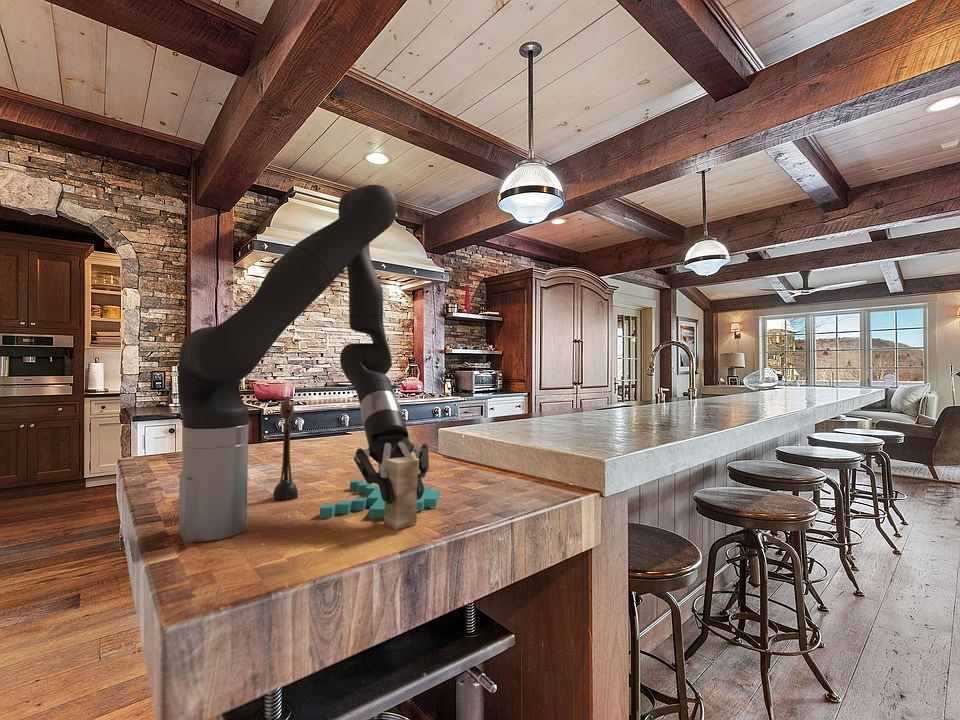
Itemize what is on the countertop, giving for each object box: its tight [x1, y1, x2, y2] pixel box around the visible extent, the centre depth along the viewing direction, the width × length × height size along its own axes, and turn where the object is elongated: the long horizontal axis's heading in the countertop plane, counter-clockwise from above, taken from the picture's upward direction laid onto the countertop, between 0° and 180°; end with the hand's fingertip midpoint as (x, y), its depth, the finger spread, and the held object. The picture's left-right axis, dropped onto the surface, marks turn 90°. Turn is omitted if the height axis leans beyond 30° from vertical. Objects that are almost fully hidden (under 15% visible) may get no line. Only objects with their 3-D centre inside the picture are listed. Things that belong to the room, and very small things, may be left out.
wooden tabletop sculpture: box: [272, 399, 299, 502], centre depth 94 cm, size 6×5×20 cm
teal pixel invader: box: [319, 479, 441, 520], centre depth 92 cm, size 20×2×20 cm
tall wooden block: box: [383, 457, 418, 531], centre depth 81 cm, size 4×6×11 cm, turn 40°
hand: (405, 499), depth 78 cm, fingers closed on tall wooden block, 4 cm apart
